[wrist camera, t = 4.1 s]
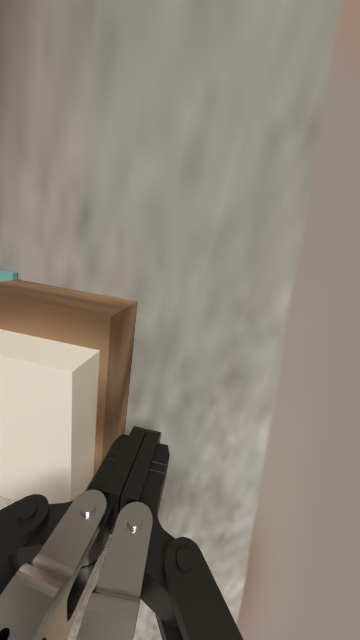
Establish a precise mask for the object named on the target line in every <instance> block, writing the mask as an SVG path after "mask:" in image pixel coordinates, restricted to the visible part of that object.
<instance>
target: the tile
mask: <svg viewBox="0 0 360 640" xmlns="http://www.w3.org/2000/svg"><path fill="white" fill-rule="evenodd" d="M99 355H100V350H96V349H91V348H86V347H82V346H77V345H72V344H68V343H63V342H58V341H53V340H49V339H44V338H39V337H35V336H30V335H25V334H21V333H16V332H11V331H6V330H2V329H0V496H3V497H6V498H10V499H13V500H16V501H18V500H20V499H22V498H24V497H26V496H29V495H33V494H41V495H43V496H45V497H46V498H47V500H48V503H49V504H56V503H65V502H70V501H73V500H75V498H76V497H77V496H78V495H80V494H81V493H83V492H85V490H86V489H87V487H88V485H89V483H90V481H91V480H92V478H93V475H94V455H95V435H96V415H97V395H98V375H99Z"/></svg>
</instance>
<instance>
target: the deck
mask: <svg viewBox="0 0 360 640" xmlns="http://www.w3.org/2000/svg"><path fill="white" fill-rule="evenodd" d="M136 310H137V302H136V301H130V300H125V299H119V298H114V297H108V296H103V295H98V294H92V293H87V292H81V291H76V290H70V289H65V288H60V287H54V286H49V285H43V284H38V283H33V282H27V281H22V280H11V281H2V282H0V329H2V330H6V331H11V332H16V333H21V334H25V335H30V336H35V337H39V338H44V339H49V340H53V341H58V342H63V343H68V344H72V345H77V346H82V347H86V348H91V349H96V350H100V355H99V375H98V395H97V415H96V435H95V455H94V475H93V478H94V476H95V474H96V472H97V471H98V469H99V467H100V465H101V463H102V462H103V460H104V459H105V456H106V455H107V453H108V451H109V449H110V447H111V446H112V444H113V442H114V441H115V440H116V439H117V438H118V437H119V436H121V435H122V434H123V435H125V424H126V414H127V404H128V393H129V383H130V373H131V362H132V352H133V341H134V331H135V321H136ZM93 478H92V480H93ZM92 480H91V481H92ZM91 481H90V483H91ZM90 483H89V485H90ZM89 485H88V487H89ZM88 487H87V488H88ZM86 490H87V489H86ZM86 490H85V491H86Z"/></svg>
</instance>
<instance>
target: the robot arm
mask: <svg viewBox="0 0 360 640" xmlns="http://www.w3.org/2000/svg"><path fill="white" fill-rule="evenodd" d="M160 437H161V432H157V431H153V430H149V429H148V430H147V429H144V428H140V427H136V426H134V427H133V429H132V431H131V433H130V435H129V436H127V435H123V434H122V435H121V436H119V437H118V438H117V439H116V440H115V441H114V442H113V444H112V446H111V447H110V449H109V451H108V453H107V455H106V456H105V459H104V460H103V462H102V463H101V465H100V467H99V469H98V471H97V472H96V474H95V476H94V478H93V480H92V481H91V483H90V485H89V487H88V488H87V490H86V491H85V492H83V493H81V494H80V495H78V496H77V497H76V498H75V500H73V501H70V502H65V503H56V504H49V503H48V500H47V498H46V497H45V496H43V495H41V494H33V495H29V496H26V497H24V498H22V499H20V500H18V501H17V502H15V503H13V504H11V505H9V506H7V507H5V508H3V509H2V510H0V640H67V638H68V635H69V631H70V629H71V626H72V623H73V621H74V619H75V616H76V614H77V612H78V610H79V607H80V605H81V603H82V601H83V598H84V596H85V594H86V592H87V589H88V587H89V585H90V583H91V580H92V578H93V576H94V574H95V571H96V569H97V567H98V565H99V562H100V560H101V558H102V555H103V550H104V547H105V545H106V542H107V539H108V537H109V534H112V537H111V540H110V543H109V547H108V550H107V553H106V556H105V559H104V563H103V566H102V569H101V572H100V576H99V579H98V582H97V585H96V587H95V589H93V591H92V593H91V596H90V598H89V601H88V604H87V607H86V610H85V613H84V616H83V620H82V623H81V626H80V629H79V632H78V635H77V638H76V640H133V639H134V633H135V628H136V622H137V616H138V610H139V604H140V598H141V599H142V600H143V601H144V602H145V603H146V604H147V605H148V606H149V607H150V608H151V609H152V610H153V611H154V612H155V613H156V618H157V622H158V625H159V629H160V633H161V636H162V640H243V638H242V636H241V634H240V632H239V630H238V628H237V626H236V623H235V621H234V619H233V617H232V615H231V613H230V611H229V609H228V607H227V605H226V603H225V601H224V598H223V596H222V594H221V592H220V590H219V588H218V586H217V584H216V582H215V580H214V578H213V576H212V573H211V571H210V569H209V567H208V565H207V563H206V561H205V559H204V557H203V555H202V553H201V551H200V549H199V547H198V546H197V544H196V543H195V542H194V541H192V540H191V539H189V538H185V537H180V538H177V539H175V538H173V537H172V536H171V535H170V534H168V533H167V532H166V531H165V530H164V529H163V528H162V526H161V525H160V523H159V520H158V517H157V514H158V510H159V505H160V501H161V496H162V492H163V487H164V483H165V479H166V474H167V468H168V462H169V456H170V454H169V449H168V445H164V444H160Z"/></svg>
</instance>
